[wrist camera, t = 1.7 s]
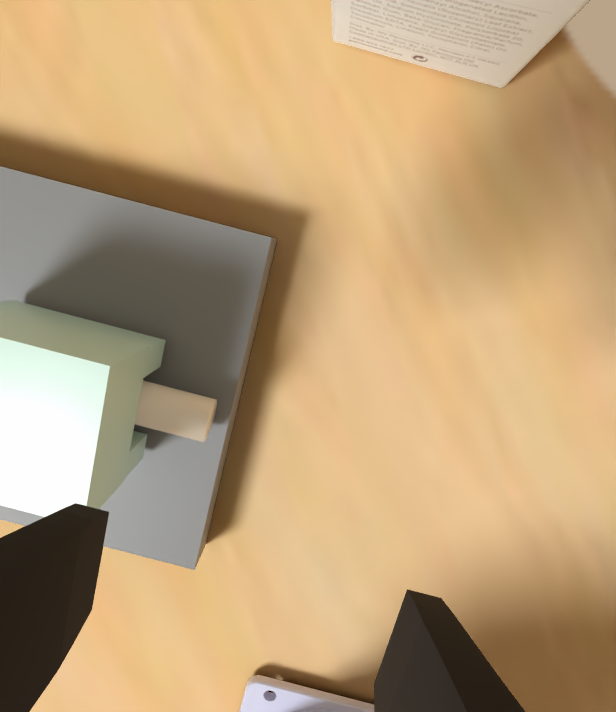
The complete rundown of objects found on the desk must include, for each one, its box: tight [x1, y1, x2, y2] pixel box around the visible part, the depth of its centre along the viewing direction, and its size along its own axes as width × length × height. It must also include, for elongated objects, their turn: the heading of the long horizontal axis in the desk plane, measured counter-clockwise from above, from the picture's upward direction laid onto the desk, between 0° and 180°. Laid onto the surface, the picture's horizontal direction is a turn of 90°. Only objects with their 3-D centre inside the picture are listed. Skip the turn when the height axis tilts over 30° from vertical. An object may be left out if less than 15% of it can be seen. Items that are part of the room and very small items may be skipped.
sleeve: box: [0, 300, 166, 517], centre depth 14 cm, size 5×4×4 cm
